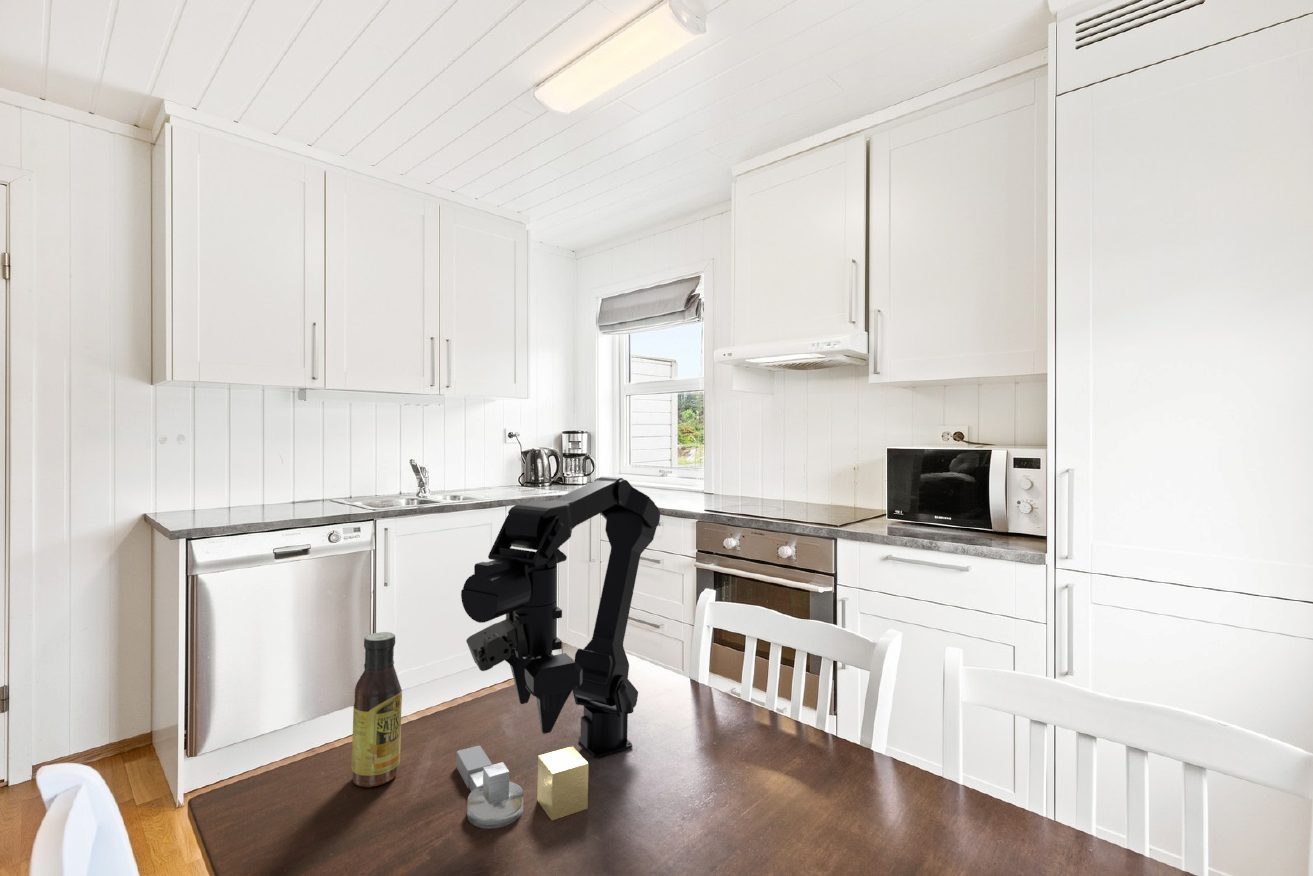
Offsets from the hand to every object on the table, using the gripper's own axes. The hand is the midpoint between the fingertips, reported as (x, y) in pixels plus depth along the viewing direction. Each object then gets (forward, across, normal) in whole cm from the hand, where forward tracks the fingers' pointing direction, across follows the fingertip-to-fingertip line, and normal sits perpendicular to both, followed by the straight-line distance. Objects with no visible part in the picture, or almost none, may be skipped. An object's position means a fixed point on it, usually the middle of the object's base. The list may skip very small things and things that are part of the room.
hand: (534, 717), depth 83 cm
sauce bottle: (+11, -16, -18) cm, 26 cm away
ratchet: (+11, -5, -5) cm, 13 cm away
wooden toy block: (+11, +2, +3) cm, 12 cm away
